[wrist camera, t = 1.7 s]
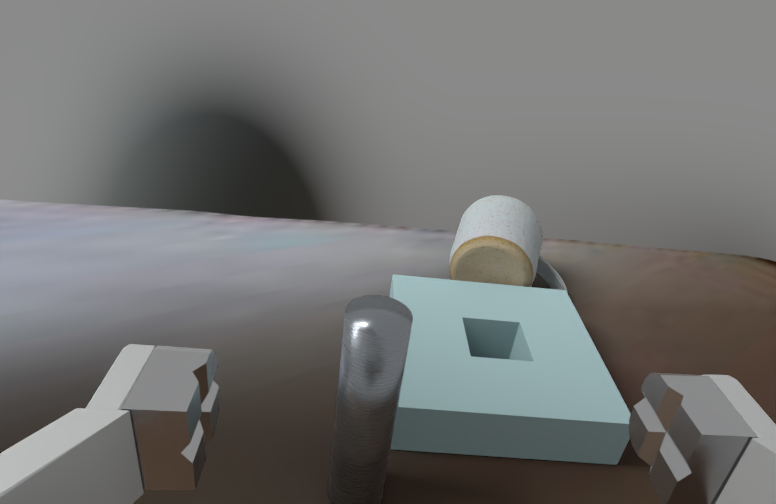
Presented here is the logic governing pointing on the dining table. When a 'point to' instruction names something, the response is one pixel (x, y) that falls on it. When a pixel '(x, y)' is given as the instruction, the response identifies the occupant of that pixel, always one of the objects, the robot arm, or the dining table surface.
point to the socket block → (504, 375)
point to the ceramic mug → (501, 245)
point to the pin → (367, 397)
